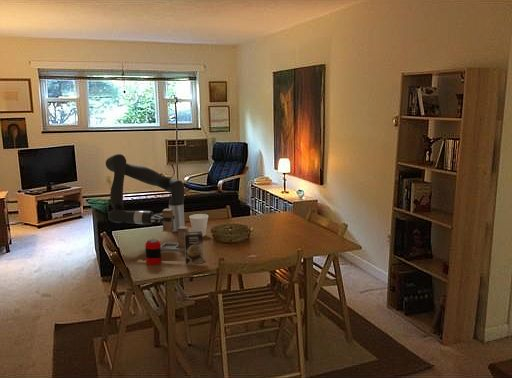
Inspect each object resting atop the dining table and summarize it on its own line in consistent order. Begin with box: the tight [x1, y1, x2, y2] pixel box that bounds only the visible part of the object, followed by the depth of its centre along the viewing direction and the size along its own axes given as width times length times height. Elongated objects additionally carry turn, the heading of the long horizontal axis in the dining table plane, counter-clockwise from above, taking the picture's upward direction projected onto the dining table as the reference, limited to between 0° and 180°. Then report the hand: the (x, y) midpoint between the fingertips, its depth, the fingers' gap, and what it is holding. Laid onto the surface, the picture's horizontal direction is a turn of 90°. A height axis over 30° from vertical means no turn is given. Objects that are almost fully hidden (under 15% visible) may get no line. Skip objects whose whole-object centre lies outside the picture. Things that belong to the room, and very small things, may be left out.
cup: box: [189, 213, 209, 237], centre depth 291 cm, size 12×12×12 cm
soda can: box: [144, 238, 162, 266], centre depth 243 cm, size 8×8×12 cm
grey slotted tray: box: [160, 242, 185, 253], centre depth 263 cm, size 12×21×3 cm, turn 80°
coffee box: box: [184, 231, 204, 266], centre depth 242 cm, size 9×6×16 cm
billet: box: [161, 208, 174, 233], centre depth 261 cm, size 4×4×12 cm
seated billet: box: [177, 225, 189, 249], centre depth 261 cm, size 4×4×12 cm
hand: (172, 218), depth 260 cm, fingers closed on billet, 4 cm apart
